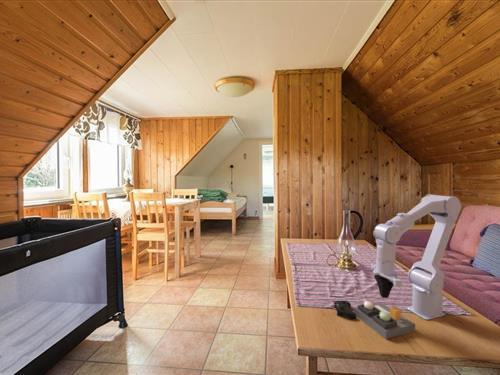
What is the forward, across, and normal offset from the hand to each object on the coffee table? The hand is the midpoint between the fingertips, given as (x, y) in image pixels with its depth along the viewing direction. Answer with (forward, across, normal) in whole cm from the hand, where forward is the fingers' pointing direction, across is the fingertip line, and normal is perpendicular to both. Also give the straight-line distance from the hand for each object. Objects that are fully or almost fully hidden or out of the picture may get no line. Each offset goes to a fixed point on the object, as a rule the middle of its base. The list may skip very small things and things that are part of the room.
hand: (384, 296), depth 86 cm
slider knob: (+6, +3, +2) cm, 7 cm away
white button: (+5, -1, -5) cm, 7 cm away
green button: (+5, +6, -3) cm, 8 cm away
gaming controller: (+9, -6, -12) cm, 16 cm away
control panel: (+8, +1, -1) cm, 9 cm away
